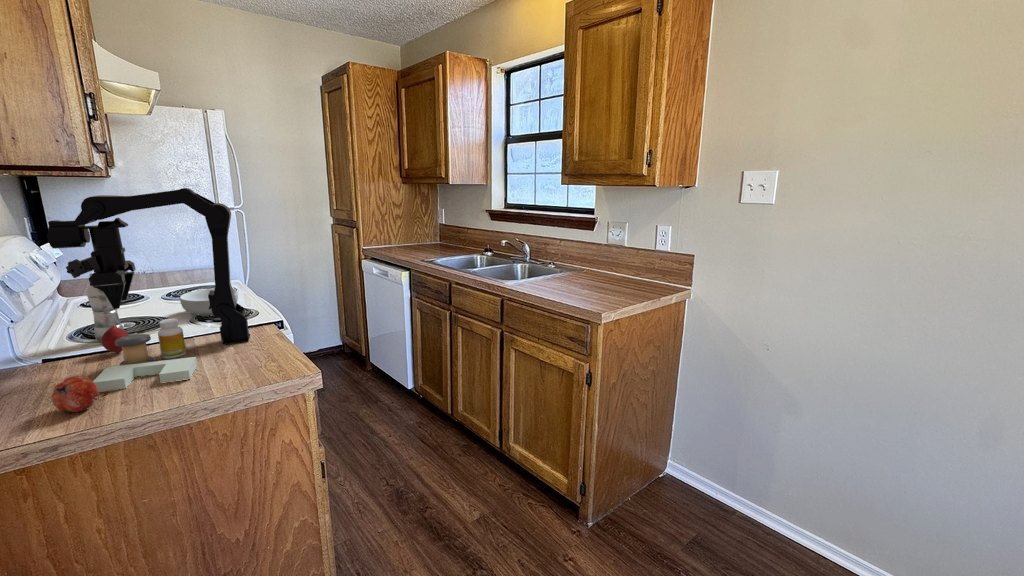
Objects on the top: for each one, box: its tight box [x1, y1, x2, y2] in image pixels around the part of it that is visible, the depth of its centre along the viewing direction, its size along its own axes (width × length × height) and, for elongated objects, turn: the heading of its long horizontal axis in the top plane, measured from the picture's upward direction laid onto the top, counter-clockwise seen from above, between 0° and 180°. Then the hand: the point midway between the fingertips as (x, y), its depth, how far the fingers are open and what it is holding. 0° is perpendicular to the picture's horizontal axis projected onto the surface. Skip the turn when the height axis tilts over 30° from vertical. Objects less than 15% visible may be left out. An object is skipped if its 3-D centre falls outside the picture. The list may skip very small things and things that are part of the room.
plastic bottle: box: [85, 272, 125, 343], centre depth 132 cm, size 6×7×20 cm
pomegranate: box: [51, 375, 100, 413], centre depth 96 cm, size 7×7×10 cm
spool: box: [115, 333, 156, 366], centre depth 118 cm, size 7×7×7 cm
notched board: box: [92, 356, 198, 393], centre depth 111 cm, size 18×9×2 cm, turn 114°
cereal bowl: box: [179, 287, 239, 317], centre depth 161 cm, size 17×17×7 cm
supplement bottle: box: [157, 318, 187, 359], centre depth 124 cm, size 5×5×10 cm
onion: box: [100, 325, 130, 354], centre depth 125 cm, size 6×6×8 cm
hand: (120, 304), depth 122 cm, fingers open, 9 cm apart
